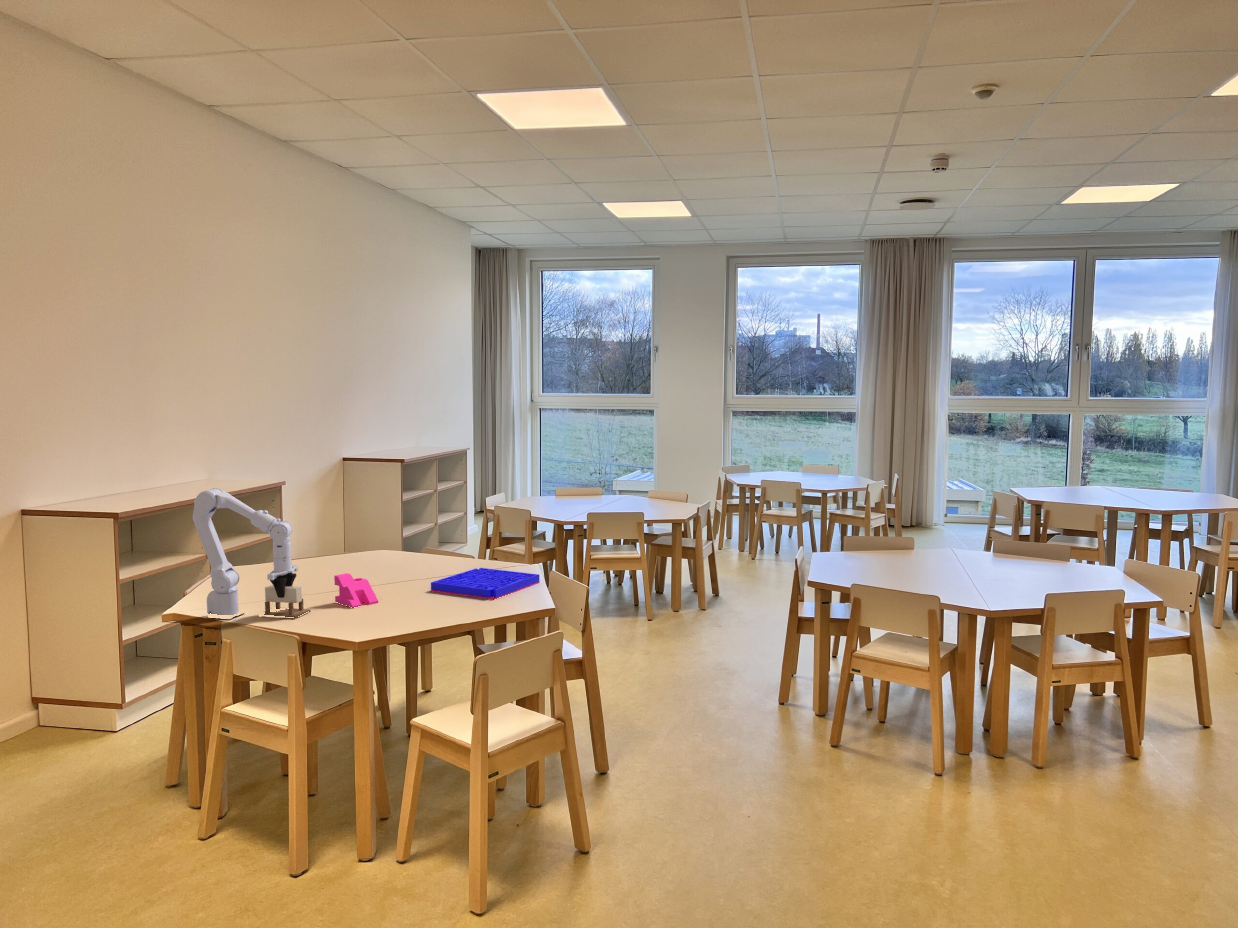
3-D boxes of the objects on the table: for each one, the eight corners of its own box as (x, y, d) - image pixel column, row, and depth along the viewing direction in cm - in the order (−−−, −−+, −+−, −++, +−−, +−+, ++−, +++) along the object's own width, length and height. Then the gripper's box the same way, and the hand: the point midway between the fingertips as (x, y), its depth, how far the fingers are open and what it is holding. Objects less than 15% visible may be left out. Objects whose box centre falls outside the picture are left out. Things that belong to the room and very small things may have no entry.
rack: (258, 616, 283) (257, 602, 282) (274, 610, 292) (274, 596, 291) (295, 618, 280) (294, 604, 279) (310, 612, 289) (309, 597, 288)
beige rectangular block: (265, 601, 285) (264, 587, 285) (271, 599, 288) (270, 585, 288) (296, 603, 283) (296, 588, 282) (301, 600, 286) (301, 586, 285)
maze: (431, 592, 318) (430, 582, 318) (479, 576, 344) (478, 567, 344) (494, 601, 304) (494, 590, 304) (539, 584, 330) (539, 574, 330)
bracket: (335, 603, 301) (334, 575, 300) (360, 597, 309) (359, 570, 308) (352, 608, 293) (351, 580, 292) (378, 603, 301) (377, 575, 300)
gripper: (279, 561, 276) (281, 601, 277) (304, 553, 290) (306, 591, 291) (261, 561, 278) (263, 600, 279) (287, 552, 292) (288, 590, 293)
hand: (284, 596), depth 285 cm, fingers closed on beige rectangular block, 3 cm apart
